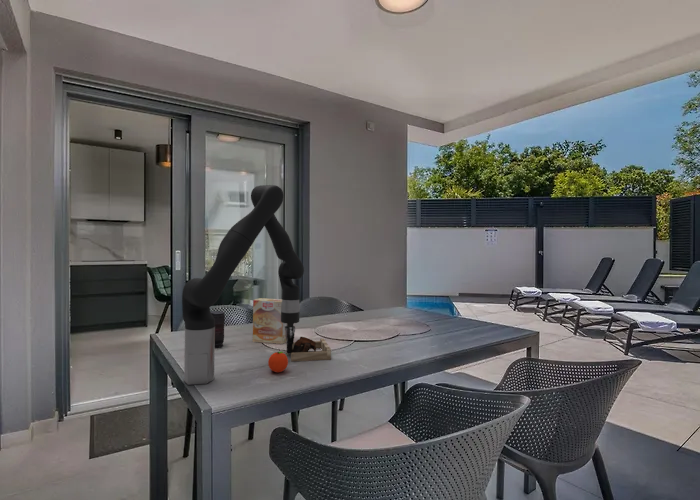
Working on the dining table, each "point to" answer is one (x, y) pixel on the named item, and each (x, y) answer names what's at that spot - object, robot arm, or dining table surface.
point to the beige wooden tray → (313, 353)
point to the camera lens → (219, 327)
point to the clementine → (278, 361)
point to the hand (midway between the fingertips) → (289, 352)
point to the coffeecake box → (268, 321)
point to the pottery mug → (304, 345)
